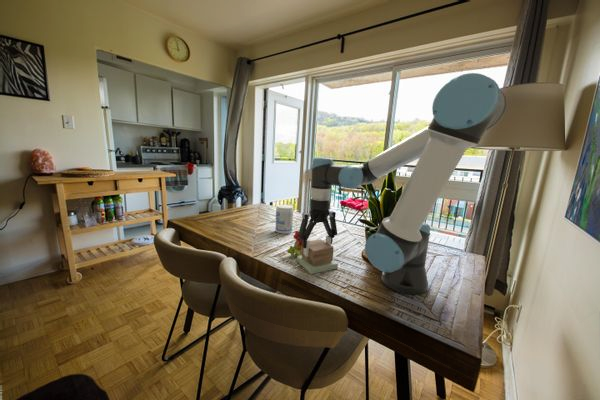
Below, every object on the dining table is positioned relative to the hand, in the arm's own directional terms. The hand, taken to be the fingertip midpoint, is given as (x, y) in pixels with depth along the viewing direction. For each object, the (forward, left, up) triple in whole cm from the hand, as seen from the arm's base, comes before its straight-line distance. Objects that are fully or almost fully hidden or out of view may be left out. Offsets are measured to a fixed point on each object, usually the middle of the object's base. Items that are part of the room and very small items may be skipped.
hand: (317, 253), depth 97 cm
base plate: (0, 0, -5) cm, 5 cm away
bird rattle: (+12, +3, -5) cm, 13 cm away
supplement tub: (+43, -3, -5) cm, 43 cm away
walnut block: (0, 0, -2) cm, 2 cm away
